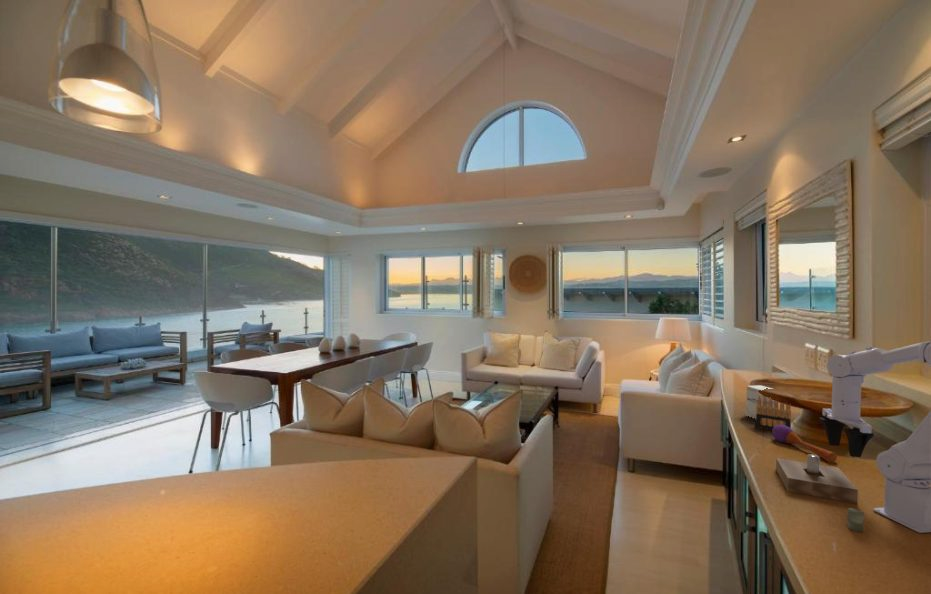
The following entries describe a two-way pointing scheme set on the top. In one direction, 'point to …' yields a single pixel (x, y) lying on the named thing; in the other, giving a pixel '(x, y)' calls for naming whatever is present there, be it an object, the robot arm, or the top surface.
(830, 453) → the purple and brown maraca
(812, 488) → the hole board
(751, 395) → the supplement box
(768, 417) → the ammunition clip
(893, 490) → the robot arm
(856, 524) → the green rectangular block
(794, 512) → the top surface
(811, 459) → the long pin
